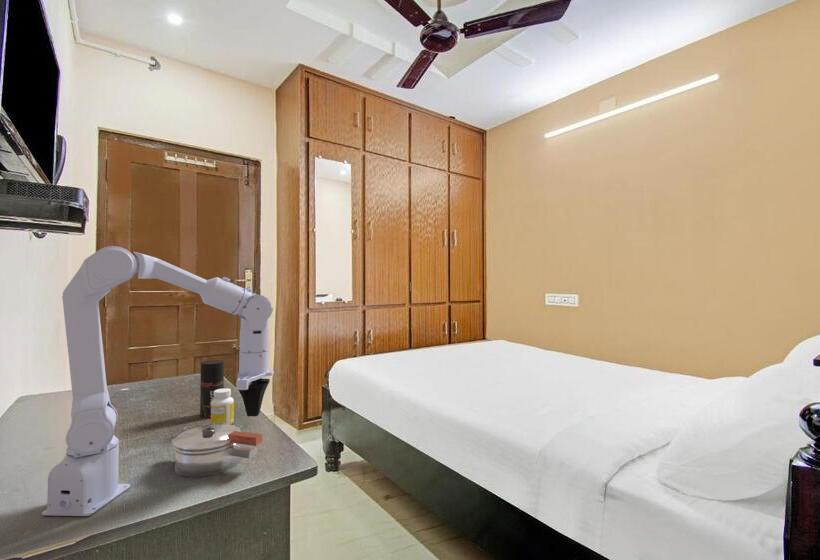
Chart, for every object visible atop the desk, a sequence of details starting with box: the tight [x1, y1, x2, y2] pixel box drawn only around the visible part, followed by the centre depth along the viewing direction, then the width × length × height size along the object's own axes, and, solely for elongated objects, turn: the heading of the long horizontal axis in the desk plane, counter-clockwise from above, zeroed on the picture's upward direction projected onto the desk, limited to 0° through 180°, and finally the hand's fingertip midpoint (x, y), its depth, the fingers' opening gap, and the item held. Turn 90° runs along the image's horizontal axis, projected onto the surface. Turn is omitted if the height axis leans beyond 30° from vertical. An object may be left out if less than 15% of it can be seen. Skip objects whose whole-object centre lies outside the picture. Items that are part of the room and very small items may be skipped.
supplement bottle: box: [210, 388, 235, 426], centre depth 104 cm, size 5×5×10 cm
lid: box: [174, 424, 263, 451], centre depth 83 cm, size 18×12×2 cm
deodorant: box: [199, 359, 225, 419], centre depth 114 cm, size 6×6×15 cm
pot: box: [171, 437, 258, 479], centre depth 83 cm, size 20×13×5 cm, turn 74°
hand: (253, 415), depth 84 cm, fingers closed
